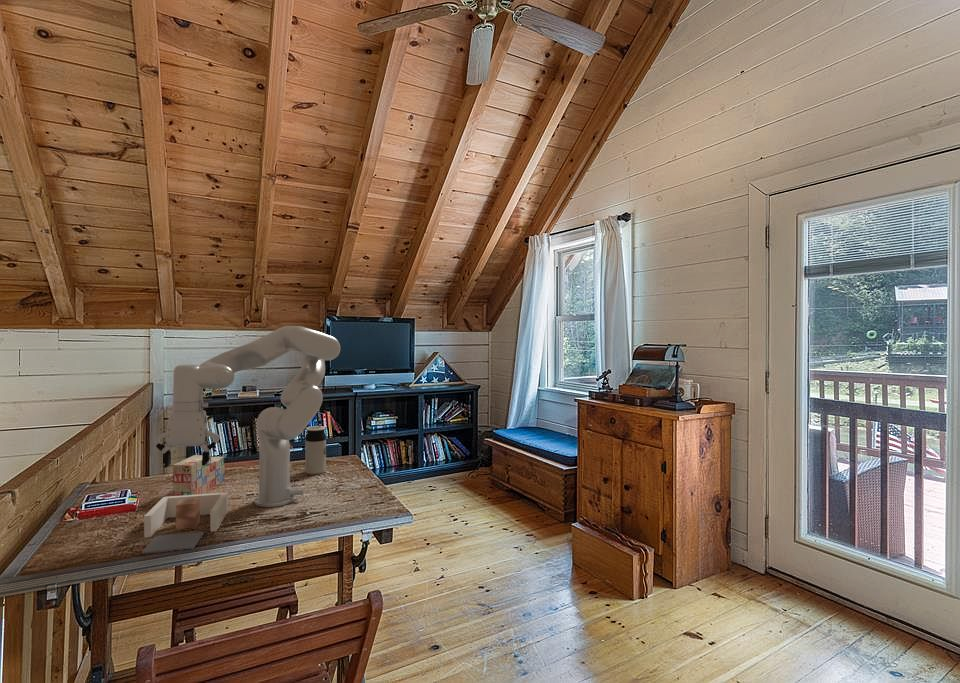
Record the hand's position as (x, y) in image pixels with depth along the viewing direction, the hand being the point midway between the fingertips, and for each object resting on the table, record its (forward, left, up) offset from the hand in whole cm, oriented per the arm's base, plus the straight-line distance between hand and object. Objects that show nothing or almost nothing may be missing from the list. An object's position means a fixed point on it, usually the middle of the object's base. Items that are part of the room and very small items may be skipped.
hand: (186, 465), depth 144 cm
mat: (0, +13, -18) cm, 22 cm away
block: (0, 0, -18) cm, 18 cm away
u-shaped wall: (0, -1, -18) cm, 18 cm away
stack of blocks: (+4, -34, -18) cm, 39 cm away
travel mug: (-34, -47, -18) cm, 61 cm away
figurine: (-22, -51, -18) cm, 59 cm away
